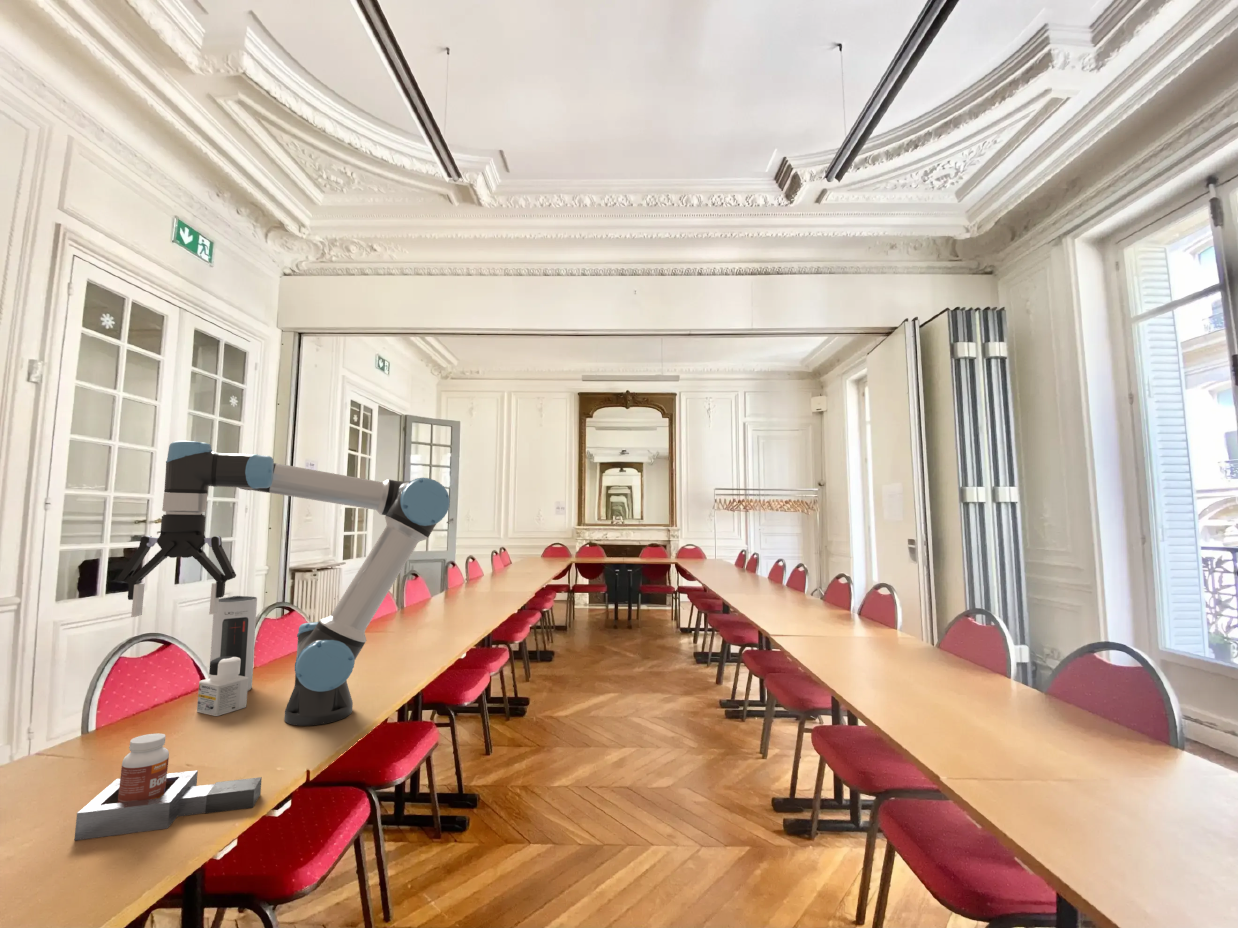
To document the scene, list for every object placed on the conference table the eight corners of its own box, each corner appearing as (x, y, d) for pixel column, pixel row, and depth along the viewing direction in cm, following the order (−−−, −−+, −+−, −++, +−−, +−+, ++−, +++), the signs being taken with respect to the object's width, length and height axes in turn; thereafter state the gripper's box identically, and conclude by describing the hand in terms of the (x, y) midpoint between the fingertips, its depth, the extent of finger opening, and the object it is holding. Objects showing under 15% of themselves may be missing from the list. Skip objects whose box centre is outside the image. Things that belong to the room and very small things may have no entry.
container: (196, 712, 144) (200, 659, 145) (226, 703, 151) (230, 652, 153) (216, 717, 141) (220, 662, 142) (246, 707, 148) (250, 656, 150)
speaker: (202, 698, 155) (209, 600, 157) (211, 687, 164) (218, 595, 166) (248, 694, 159) (255, 598, 161) (254, 684, 168) (261, 593, 171)
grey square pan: (265, 785, 107) (267, 763, 107) (246, 818, 95) (248, 792, 96) (114, 803, 99) (116, 779, 100) (74, 840, 88) (76, 813, 88)
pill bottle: (153, 814, 94) (160, 743, 95) (107, 818, 92) (115, 746, 93) (171, 796, 100) (178, 730, 101) (128, 800, 98) (136, 732, 99)
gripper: (256, 514, 130) (249, 609, 128) (121, 512, 122) (112, 613, 120) (246, 514, 123) (238, 615, 121) (103, 512, 115) (92, 620, 113)
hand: (175, 614), depth 121 cm, fingers open, 13 cm apart
